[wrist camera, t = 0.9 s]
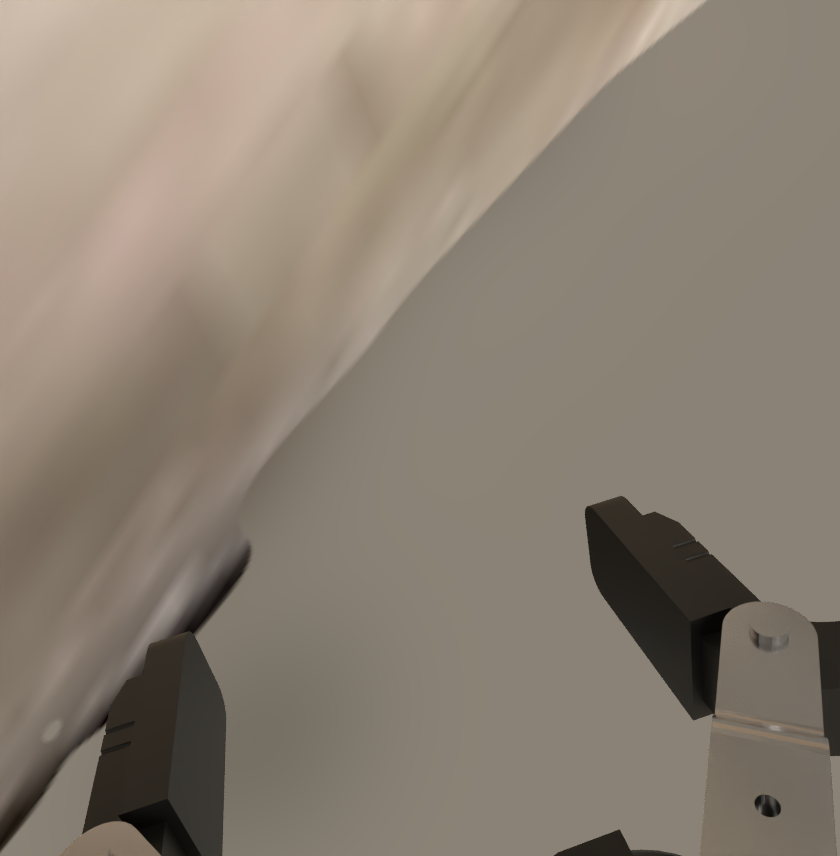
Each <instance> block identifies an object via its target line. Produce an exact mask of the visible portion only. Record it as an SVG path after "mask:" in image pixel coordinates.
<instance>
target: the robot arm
mask: <svg viewBox="0 0 840 856" xmlns="http://www.w3.org/2000/svg"><path fill="white" fill-rule="evenodd" d="M585 519H586V529H587V537H588V546H589V555H590V563H591V569H592V573H593V576H594V579H595V582H596V585H597V586H598V589H599V591H600V592H601V594H602V596H603V597H604V599H605V600H606V601H607V603H608V604H609V606H610V607H611V608H612V610H613V611H614V612H615V614H616V615H617V616H618V618H619V619H620V621H621V622H622V623H623V625H624V626H625V627H626V629H627V630H628V631H629V633H630V634H631V636H632V637H633V638H634V640H635V641H636V643H637V644H638V645H639V647H640V648H641V649H642V651H643V652H644V653H645V655H646V656H647V658H648V659H649V660H650V662H651V663H652V664H653V666H654V667H655V669H656V670H657V671H658V673H659V674H660V675H661V677H662V678H663V680H664V681H665V682H666V683H667V685H668V686H669V688H670V689H671V690H672V692H673V693H674V695H675V696H676V697H677V699H678V700H679V701H680V703H681V704H682V706H683V707H684V708H685V710H686V711H687V712H688V714H689V715H690V717H691V718H692V719H693V720H696V719H699V718H702V717H705V716H707V715H710V714H714V715H713V717H712V724H711V733H710V746H709V756H708V768H707V779H706V790H705V803H704V814H703V825H702V836H701V847H700V856H837V848H836V834H835V819H834V805H833V790H832V776H831V761H830V756H840V621H838V622H837V621H836V622H810V621H809V620H808V619H807V618H806V617H805V616H803V615H802V614H800V613H799V612H797V611H795V610H793V609H792V608H789V607H787V606H784V605H780V604H776V603H771V602H761V601H760V600H758V598H757V597H756V596H755V595H753V594H752V592H750V591H749V590H748V589H747V588H746V587H745V586H744V585H743V584H742V583H741V582H740V581H739V580H738V579H737V578H736V577H735V576H734V575H733V574H732V573H731V572H730V571H729V570H728V569H726V568H725V567H724V566H723V565H722V564H721V563H720V562H719V561H718V560H717V559H716V558H715V557H714V556H713V555H712V554H711V555H710V554H709V552H708V550H707V549H706V548H704V546H703V545H701V544H700V543H699V542H696V540H695V538H694V537H693V536H692V535H691V534H690V533H689V532H688V531H687V530H686V529H685V528H684V527H683V526H682V525H681V524H680V523H679V522H676V521H674V520H672V519H670V518H667V517H665V516H663V515H661V514H659V513H656V512H652V513H650V514H646V515H643V516H642V515H641V513H640V512H639V511H638V510H637V509H636V508H635V507H634V506H633V505H632V504H631V503H630V502H629V501H628V500H627V499H626V498H625V497H623V496H619V497H616V498H613V499H610V500H606V501H603V502H600V503H597V504H594V505H591V506H587V507H586V509H585ZM105 731H106V735H104V738H103V743H102V747H101V753H102V755H101V756H100V757H99V761H98V766H97V770H96V774H95V779H94V783H93V788H92V792H91V797H90V801H89V806H88V811H87V815H86V819H85V824H84V828H83V833H82V835H81V836H79V837H78V838H77V839H76V840H75V841H73V842H72V843H71V844H70V845H69V846H68V847H67V848H66V849H65V851H64V852H63V853H62V854H61V855H60V856H222V841H223V809H224V775H225V741H226V712H225V705H224V701H223V697H222V693H221V690H220V688H219V685H218V683H217V681H216V679H215V677H214V675H213V673H212V671H211V669H210V667H209V665H208V663H207V660H206V658H205V656H204V654H203V652H202V650H201V648H200V646H199V644H198V642H197V640H196V638H195V636H194V635H193V634H192V633H191V632H186V633H183V634H180V635H177V636H173V637H170V638H167V639H164V640H161V641H158V642H154V643H151V644H150V645H149V647H148V649H147V654H146V660H145V666H144V671H143V675H141V676H138V677H135V678H132V679H129V680H127V681H126V682H125V684H124V685H123V687H122V689H121V690H120V692H119V693H118V695H117V696H116V698H115V700H114V701H113V703H112V704H111V707H110V711H109V716H108V720H107V725H106V730H105ZM554 856H680V855H677V854H673V853H668V852H662V851H654V850H630V849H629V847H628V845H627V843H626V841H625V839H624V837H623V835H622V833H621V831H620V830H617V831H614V832H612V833H609V834H606V835H604V836H601V837H599V838H596V839H593V840H590V841H588V842H585V843H582V844H580V845H577V846H574V847H572V848H569V849H566V850H564V851H561V852H558V853H557V854H556V855H554Z"/></svg>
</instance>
